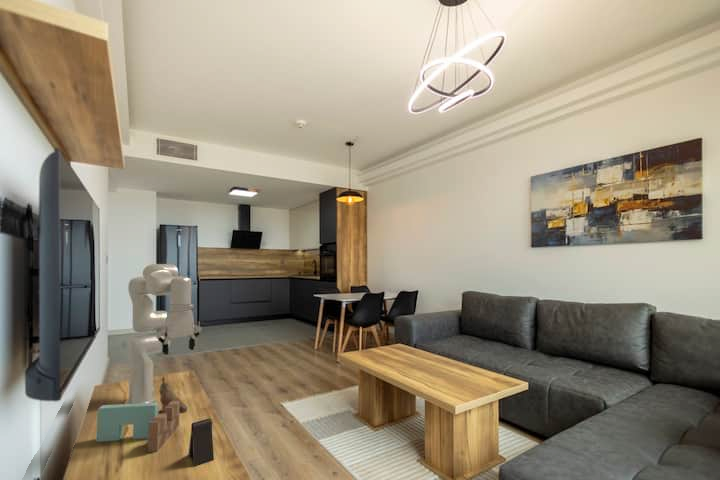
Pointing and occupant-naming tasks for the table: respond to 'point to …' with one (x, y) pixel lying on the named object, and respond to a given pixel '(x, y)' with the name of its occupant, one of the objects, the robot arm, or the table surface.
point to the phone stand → (201, 442)
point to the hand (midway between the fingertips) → (178, 351)
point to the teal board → (125, 420)
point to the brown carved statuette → (169, 397)
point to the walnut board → (163, 426)
